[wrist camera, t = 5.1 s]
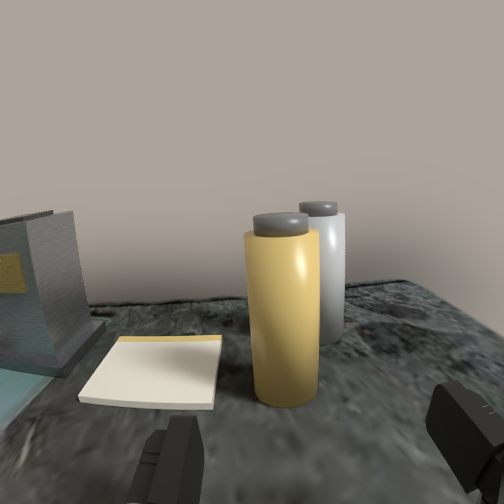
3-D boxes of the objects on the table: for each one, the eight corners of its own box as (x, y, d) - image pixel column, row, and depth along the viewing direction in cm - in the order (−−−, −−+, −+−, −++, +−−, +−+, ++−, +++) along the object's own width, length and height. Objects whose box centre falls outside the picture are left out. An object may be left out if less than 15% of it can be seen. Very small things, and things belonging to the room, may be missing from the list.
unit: (-10, 365, 22) (-45, 230, 19) (37, 326, 32) (15, 215, 29) (65, 377, 22) (27, 216, 19) (106, 329, 32) (85, 204, 29)
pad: (80, 402, 19) (77, 395, 19) (121, 342, 29) (120, 336, 29) (212, 409, 19) (211, 402, 19) (222, 340, 29) (221, 334, 29)
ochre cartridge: (255, 410, 19) (242, 222, 17) (254, 374, 24) (242, 213, 21) (323, 403, 19) (326, 217, 17) (311, 369, 24) (310, 210, 21)
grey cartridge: (299, 347, 27) (296, 206, 24) (292, 326, 31) (288, 202, 29) (348, 342, 27) (351, 203, 25) (336, 322, 31) (336, 200, 29)
